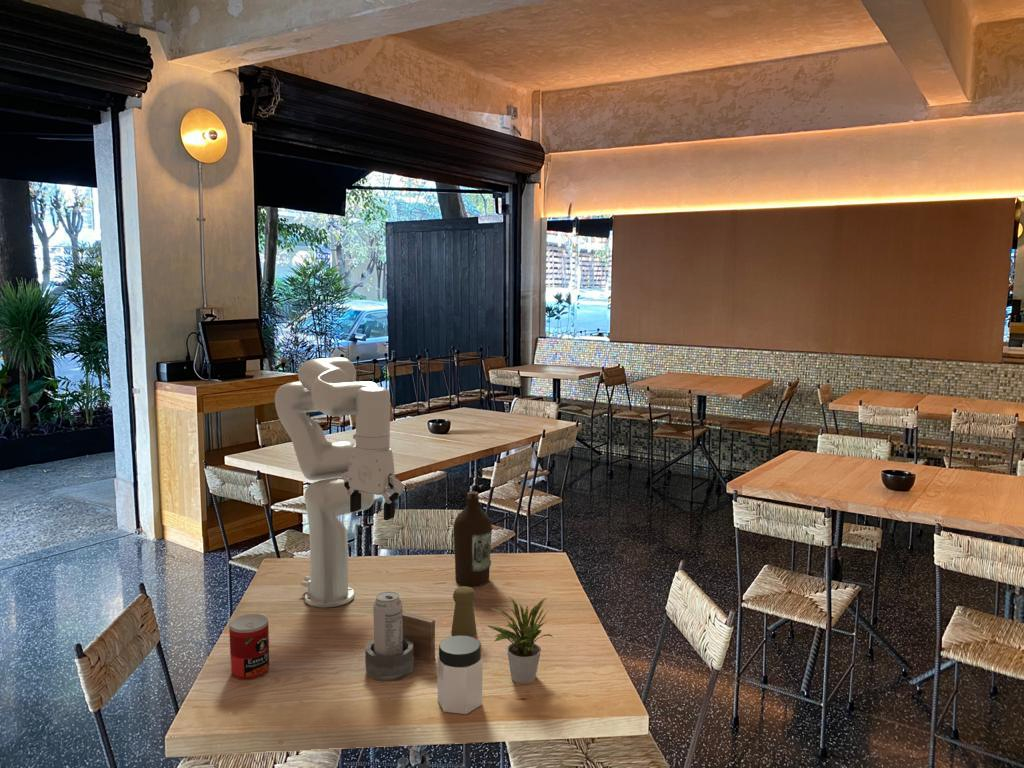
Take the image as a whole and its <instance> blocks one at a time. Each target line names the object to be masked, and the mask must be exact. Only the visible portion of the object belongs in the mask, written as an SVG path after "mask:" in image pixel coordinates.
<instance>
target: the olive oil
mask: <svg viewBox="0 0 1024 768" xmlns="http://www.w3.org/2000/svg"><path fill="white" fill-rule="evenodd" d="M466 496H467V497H466V505H465V507H464V508H463V510H461V511H460V512H459V513H458V514H457V516H456V518H455V519H454V523H453V528H452V529H453V544H454V545H453V546H454V571H455V573H454V574H455V577H454V578H455V581H456V583H457V584H459V585H461V586H466V587H476V586H477V587H478V586H482V585H485V584H487V583H488V582H489V581H490V571H491V570H490V567H491V565H492V561H491V551H492V550H491V547H492V546H491V545H492V531H493V529H492V528H493V527H492V526H493V525H492V522H491V518H490V517H489V515H488V514H487V513H486V512H485V511H484V510H483V509H482V508H481V506H480V497H479V492H478V491H473V490H472V491H468V492H466Z"/></svg>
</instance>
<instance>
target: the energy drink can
mask: <svg viewBox="0 0 1024 768" xmlns="http://www.w3.org/2000/svg"><path fill="white" fill-rule="evenodd" d="M375 598H376V599H375V600H374V602H373V604H372V607H373V609H372V611H373V640H374V653H376V654H379V655H396V654H399V653H402V652H403V624H402V611H403V601H402V600H401V598H400V594H399V593H397V592H395V591H394V592H393V591H384V592H380V593H378V594H376V596H375Z"/></svg>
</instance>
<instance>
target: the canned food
mask: <svg viewBox="0 0 1024 768" xmlns="http://www.w3.org/2000/svg"><path fill="white" fill-rule="evenodd" d="M228 630H229V653H230V672H231V674H232V676H233V677H234V678H236V679H237V680H242V681H247V680H248V681H249V680H251V681H252V680H255V679H258V678H261V677H263V676H264V675H265V674H267V673H268V671H269V669H270V639H269V637H270V635H269V634H270V632H269V631H270V630H269V618H268V617H267V616H266V615H262V614H259V613H258V614H257V613H248V614H243V615H239V616H236V617H235V618H233V619H231V621H229V625H228Z"/></svg>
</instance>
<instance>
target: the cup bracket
mask: <svg viewBox="0 0 1024 768" xmlns="http://www.w3.org/2000/svg"><path fill="white" fill-rule="evenodd" d="M402 624H403V652H402V653H399V654H396V655H379V654H376V653H374V639H372V640H371V641H369V642H368V643H366V647H365V650H364V652H365V656H364V657H365V674H366V675H367V676H368V677H369V678H371V679H373V680H376V681H382V682H393V681H398V680H401V679H404V678H406V677H407V676H409V675H410V674H412V673H413V671H414V661H415V660H414V658H416V659H419V660H423V661H427V662H430V663H431V662H433V661H434V660H436V620H435V619H433V618H431V617H430V618H429V617H427V616H426V617H425V616H422V615H418V614H414V613H410V612H406V611H403V610H402Z"/></svg>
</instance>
